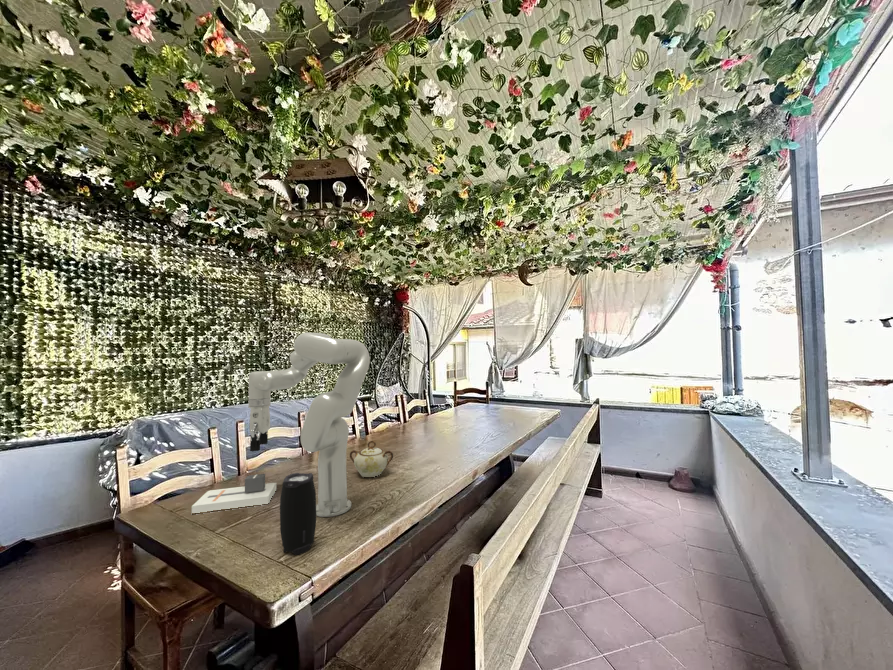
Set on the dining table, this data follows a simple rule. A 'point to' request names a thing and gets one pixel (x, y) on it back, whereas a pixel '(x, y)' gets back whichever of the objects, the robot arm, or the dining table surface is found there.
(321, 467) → the robot arm
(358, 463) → the sugar bowl
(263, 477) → the fader tab
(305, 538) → the portable speaker
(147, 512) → the dining table surface
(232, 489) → the board
